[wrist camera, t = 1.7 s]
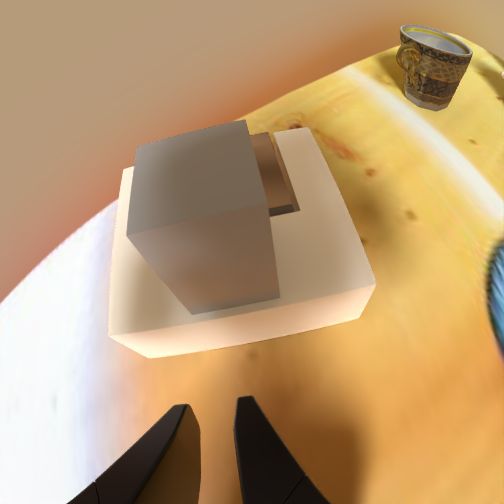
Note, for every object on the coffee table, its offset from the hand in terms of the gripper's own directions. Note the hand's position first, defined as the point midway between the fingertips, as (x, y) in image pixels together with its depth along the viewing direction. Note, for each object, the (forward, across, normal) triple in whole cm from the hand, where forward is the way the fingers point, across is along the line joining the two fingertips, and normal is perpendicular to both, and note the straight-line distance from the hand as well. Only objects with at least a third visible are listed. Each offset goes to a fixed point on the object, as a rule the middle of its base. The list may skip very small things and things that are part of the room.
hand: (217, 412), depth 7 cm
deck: (+18, 0, +1) cm, 19 cm away
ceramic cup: (+32, -28, -12) cm, 44 cm away
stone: (+9, 0, -4) cm, 9 cm away
